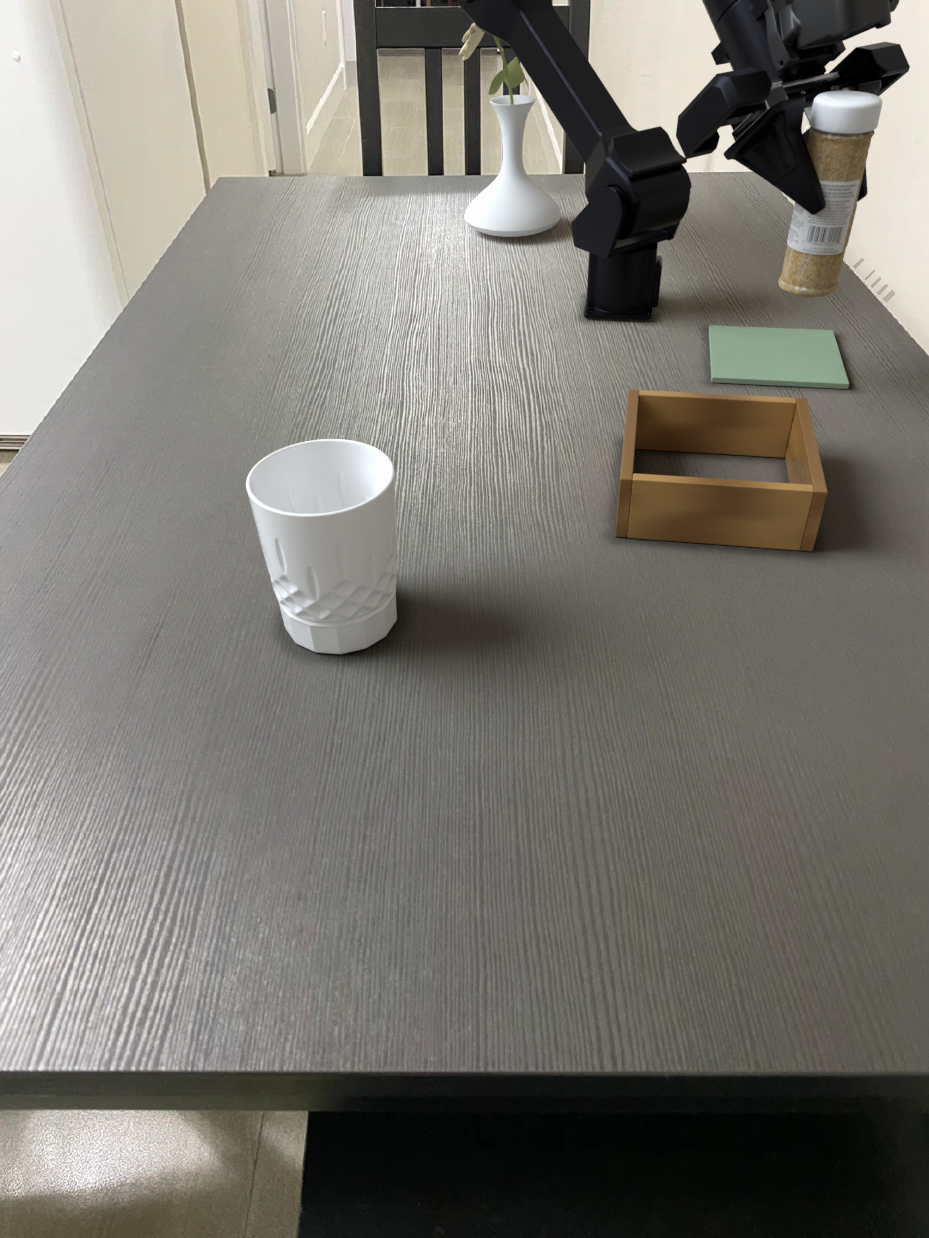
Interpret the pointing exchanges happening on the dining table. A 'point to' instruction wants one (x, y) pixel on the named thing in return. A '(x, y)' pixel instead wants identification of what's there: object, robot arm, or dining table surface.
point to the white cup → (329, 541)
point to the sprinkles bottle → (830, 191)
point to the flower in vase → (509, 163)
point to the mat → (776, 357)
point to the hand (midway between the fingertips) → (840, 205)
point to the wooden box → (721, 503)
